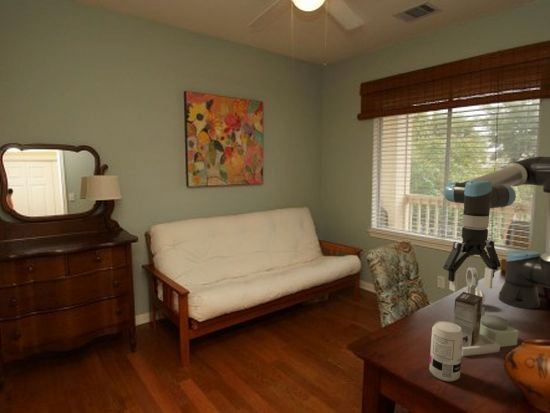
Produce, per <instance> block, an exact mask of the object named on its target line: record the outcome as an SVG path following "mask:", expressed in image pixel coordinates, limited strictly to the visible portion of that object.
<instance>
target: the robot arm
mask: <svg viewBox="0 0 550 413" xmlns="http://www.w3.org/2000/svg"><path fill="white" fill-rule="evenodd" d="M525 185H526V186H530V185H531V186H540V187H542V188H543V189H542V190H543V191H542V193H544V194H545V195H547V211H546V212H547V213H546V214H547V215H546V240H545V241H546V242H545V253H543V254H541V253H540V252H538V251H536V250H535V251H533V250H511V251H508V253H507V257H506V264H505V273H504V274H505V276H504V283H503V285H502V286H501V289H500V291H499V293H498V300H499V301H501V302H502V303H504V304H506V305H509V306H512V307H515V308H520V309H528V310H531V309H533V310H534V309H538V308H540V306H541V299H540V298H539V293H538V288H537V286H540V287H544V288H547V289H550V156H532V157H528V158H524V159H520V160H518V161H514V162H512V163H508V164H507V165H505V166H504V167H503V168H502V169H499V170H496V171H493V172H490V173H485V174H484V175H482V176H477V177H476V178H472V179H470V180H469V179H468V180H467V181H463V182H458V181H456V182H449V183H448V184H447V185H446V186H445V188H444V197H445V199H446V201H448V202H450V203H451V202H452V203H455V204H463V213H462V214H463V215H462V223H461V224H462V226H463V227H462V228H461V238H462V242H457V241H454V242H453V245H452V249H451V251H450V253H449V255H448V256H447V258H446V261H445V262H444V265H443V267H442V268H443V269H444V270H445V271H448V281H449V288H448V289H449V290H450V291H453V292H454V293H457V292H458V278H459V272H457V271H458V269H459V268H460V267H461V266H462V265H463V263H464V262H465V261H466V260H467V259H468V258H469V257H470V256H479V257H480V258H481V260H482V261H483V262H484V264H485V265H486V267H484V278H483V279H484V280H483V287H486V288H488V289H493V279H494V278H495V273H496V272H495V271H497V270H499V268H500V267H501V266H502V264H501V262H500V259H499V257H498V254H497V251H496V248H495V241H494V240H490V239H488V238H489V229H488V228H489V227H490V226H489V225H490V212H491V210H490V209H497V208H501V209H502V208H505V207H509V206H511V205H512V204H513V203H515V201H516V197H517V195H516V191H515V190H514V188H513V187H519V186H525ZM485 249H486V250H485Z"/></svg>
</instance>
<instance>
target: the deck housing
mask: <svg viewBox="0 0 550 413" xmlns="http://www.w3.org/2000/svg"><path fill="white" fill-rule="evenodd" d="M518 338H519V330H518V329H515V328H513V327H511V326H509V320H507V319H505V318H504V317H501V316H499V315H494V314H485V315H483V316H482V317H481V323H480V335H479V341H478V342H477V343H476V344H475V346H470V347H462V357H469V356H476V355H484V354H485V355H486V354H492V353H500V350H501V347H502V348H503V347H512V346H517V345H518Z"/></svg>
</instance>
